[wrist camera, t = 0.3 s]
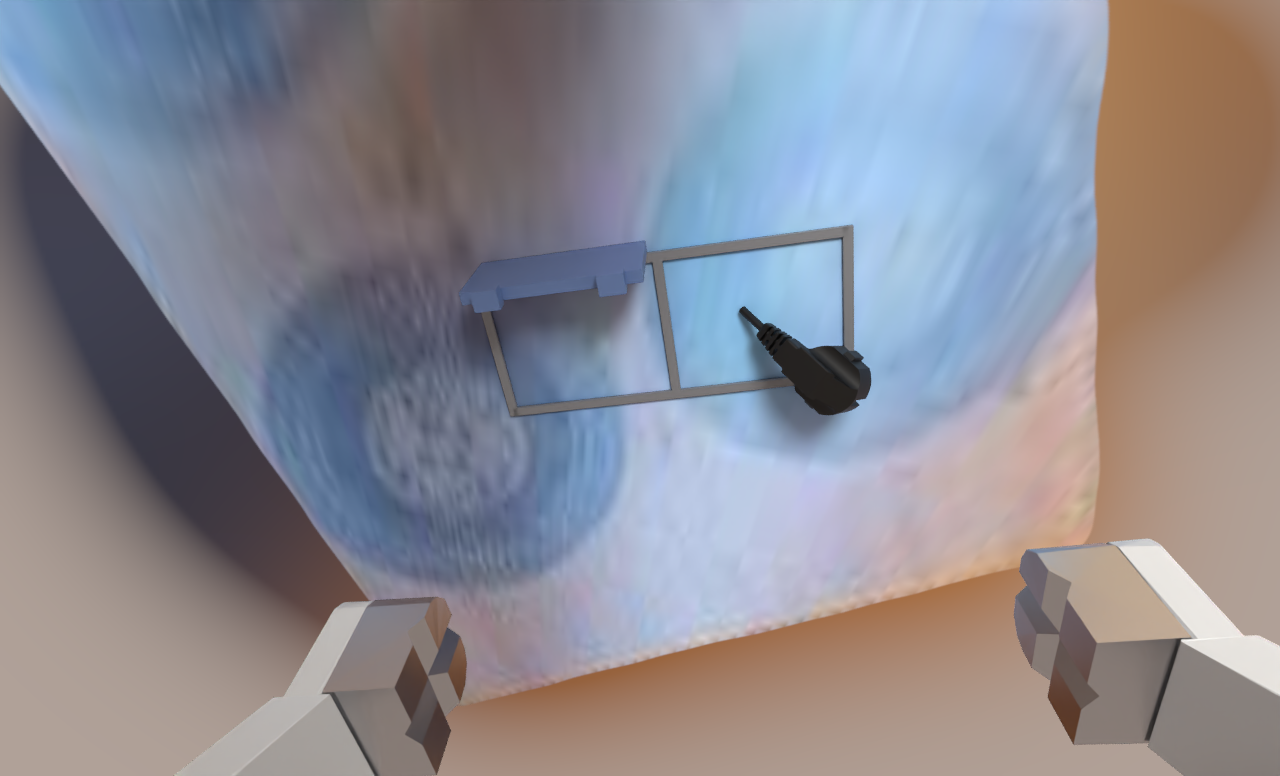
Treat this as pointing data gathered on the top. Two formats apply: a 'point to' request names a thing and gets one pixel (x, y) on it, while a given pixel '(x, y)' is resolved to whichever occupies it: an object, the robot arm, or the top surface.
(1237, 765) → the robot arm
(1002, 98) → the top surface
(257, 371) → the top surface
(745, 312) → the power plug
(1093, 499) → the top surface
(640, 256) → the frame
